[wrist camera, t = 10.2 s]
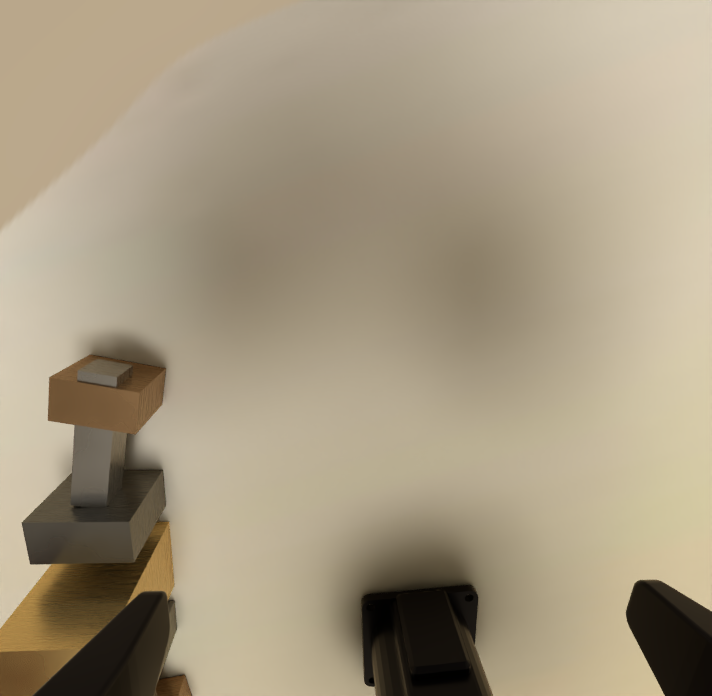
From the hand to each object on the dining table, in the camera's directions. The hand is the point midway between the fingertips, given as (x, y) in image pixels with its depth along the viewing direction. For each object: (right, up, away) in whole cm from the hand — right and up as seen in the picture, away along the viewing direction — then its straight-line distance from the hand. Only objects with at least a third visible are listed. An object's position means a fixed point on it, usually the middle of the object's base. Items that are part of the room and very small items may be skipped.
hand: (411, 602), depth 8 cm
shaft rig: (-13, -6, +13) cm, 19 cm away
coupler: (-13, -6, +13) cm, 19 cm away
